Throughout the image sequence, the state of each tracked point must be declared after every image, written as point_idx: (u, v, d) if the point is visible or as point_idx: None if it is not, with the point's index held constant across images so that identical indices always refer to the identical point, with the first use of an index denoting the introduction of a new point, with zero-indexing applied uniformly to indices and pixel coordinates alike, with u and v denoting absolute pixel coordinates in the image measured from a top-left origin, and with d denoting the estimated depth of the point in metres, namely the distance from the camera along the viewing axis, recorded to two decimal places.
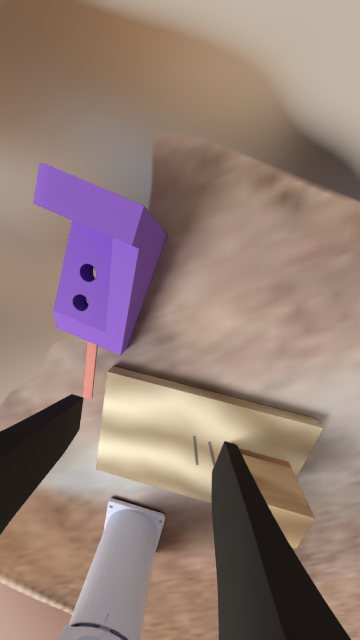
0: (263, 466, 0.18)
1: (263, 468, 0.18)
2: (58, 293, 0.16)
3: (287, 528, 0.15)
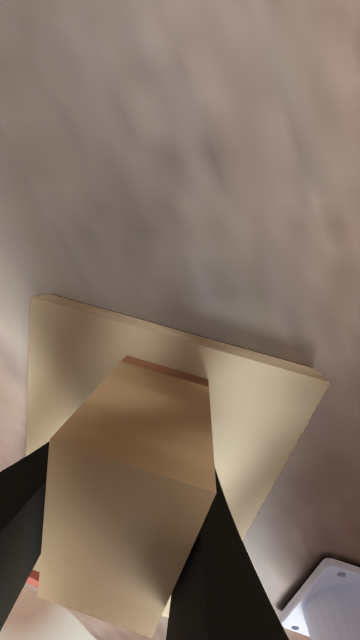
0: None
1: None
2: None
3: (120, 507, 0.04)
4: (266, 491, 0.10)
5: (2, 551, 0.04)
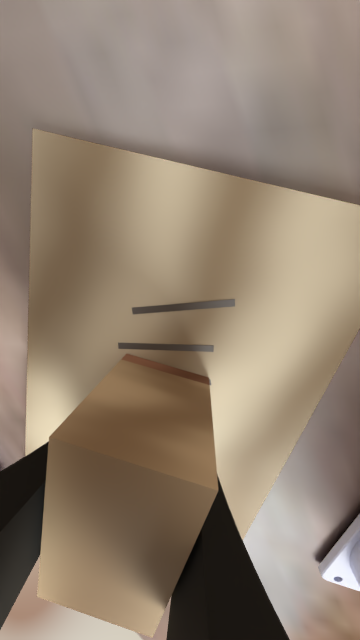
0: None
1: None
2: None
3: (121, 505, 0.04)
4: (320, 390, 0.08)
5: (1, 551, 0.04)
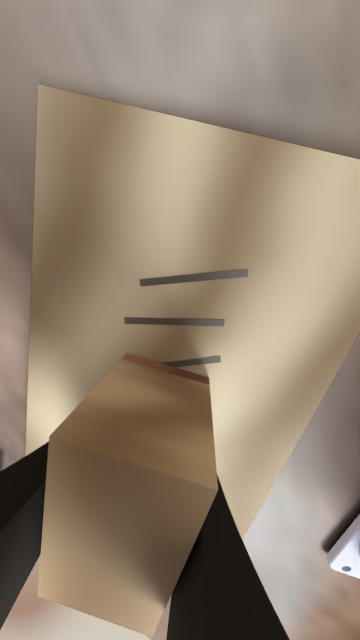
0: None
1: None
2: None
3: (121, 505, 0.04)
4: (335, 367, 0.08)
5: (1, 551, 0.04)
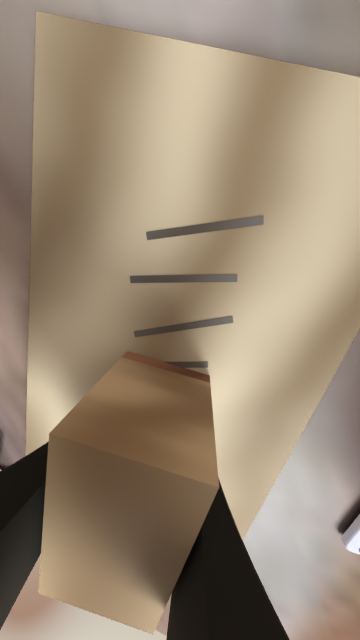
0: None
1: None
2: None
3: (121, 502, 0.04)
4: (357, 324, 0.07)
5: (1, 551, 0.04)
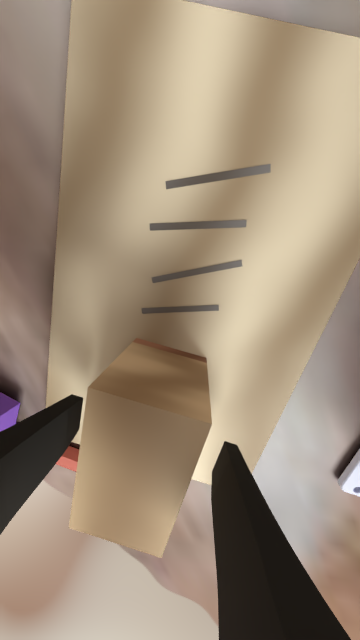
0: None
1: None
2: None
3: (139, 441, 0.06)
4: (351, 264, 0.08)
5: None
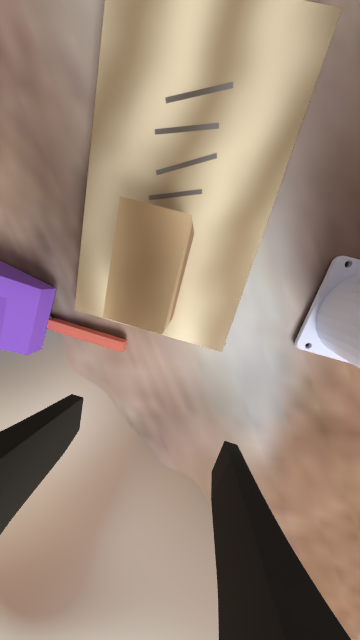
0: None
1: None
2: None
3: (149, 234, 0.10)
4: (289, 152, 0.12)
5: None
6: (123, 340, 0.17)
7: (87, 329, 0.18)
